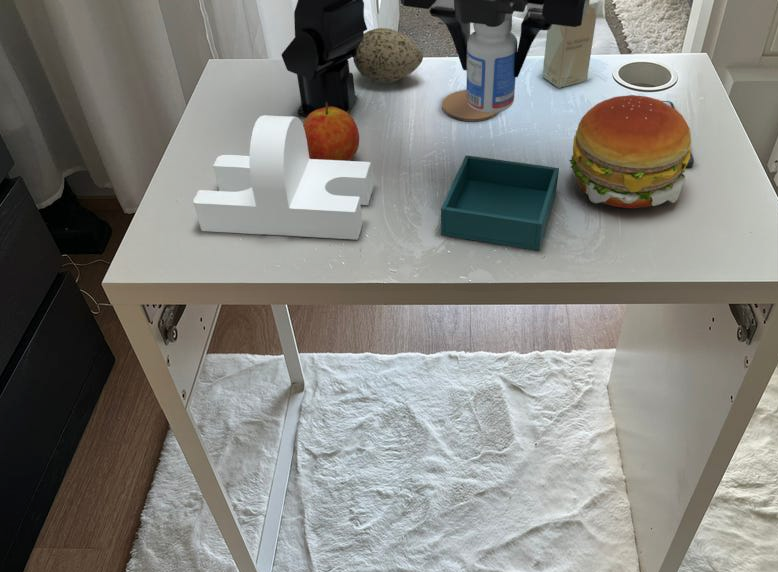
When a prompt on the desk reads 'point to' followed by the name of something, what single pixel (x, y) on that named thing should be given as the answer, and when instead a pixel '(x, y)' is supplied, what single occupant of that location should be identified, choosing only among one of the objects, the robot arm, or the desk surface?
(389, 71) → the decorative egg
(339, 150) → the fruit
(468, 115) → the coaster
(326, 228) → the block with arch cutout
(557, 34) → the box
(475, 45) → the pill bottle
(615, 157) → the burger
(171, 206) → the desk surface
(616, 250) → the desk surface
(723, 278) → the desk surface
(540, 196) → the bin
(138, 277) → the desk surface
